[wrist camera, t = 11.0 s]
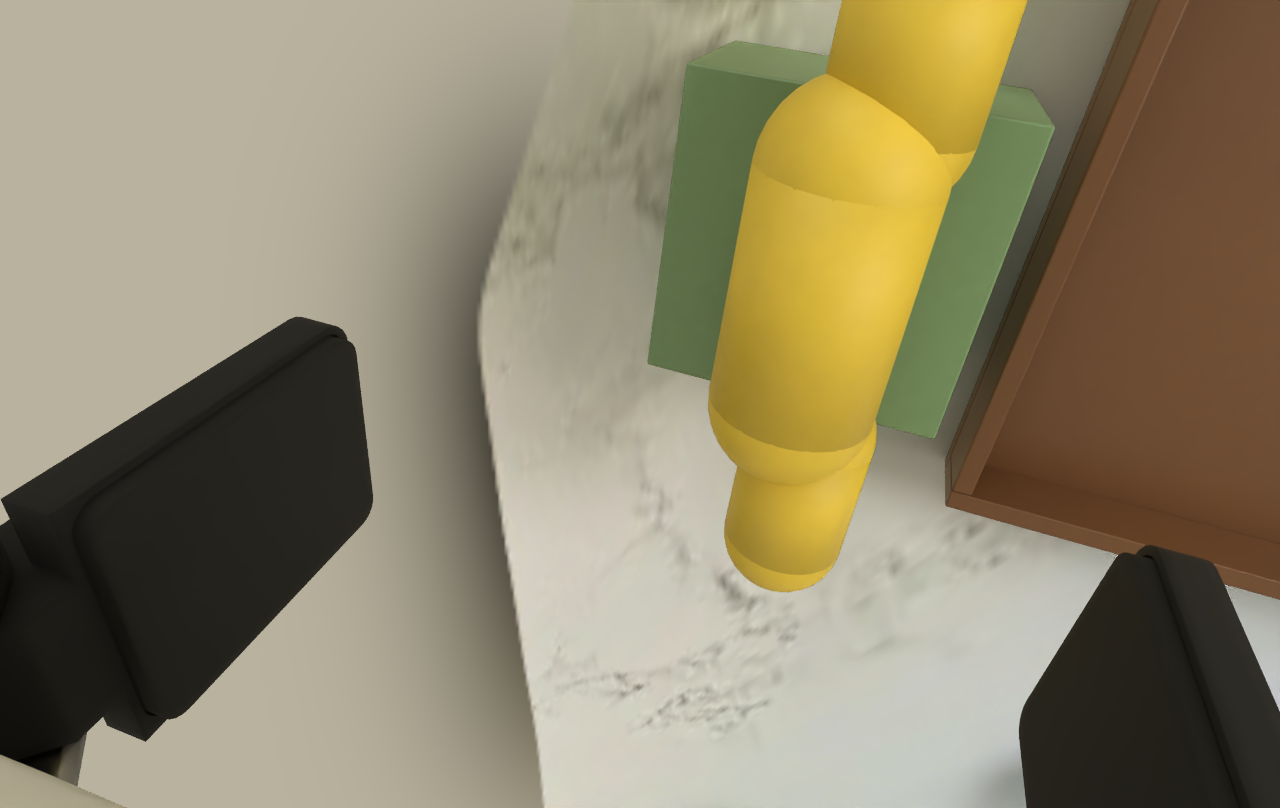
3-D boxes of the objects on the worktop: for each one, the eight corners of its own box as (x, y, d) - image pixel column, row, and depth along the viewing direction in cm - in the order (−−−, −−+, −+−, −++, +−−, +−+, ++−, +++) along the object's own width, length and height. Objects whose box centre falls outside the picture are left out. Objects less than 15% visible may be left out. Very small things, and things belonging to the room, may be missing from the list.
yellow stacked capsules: (817, -186, 14) (822, -219, 11) (1053, -158, 14) (1130, -184, 11) (685, 517, 24) (666, 614, 21) (824, 545, 23) (829, 648, 20)
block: (733, 39, 22) (686, 62, 18) (1032, 89, 20) (1056, 126, 16) (692, 298, 26) (646, 364, 22) (935, 357, 24) (934, 440, 20)
